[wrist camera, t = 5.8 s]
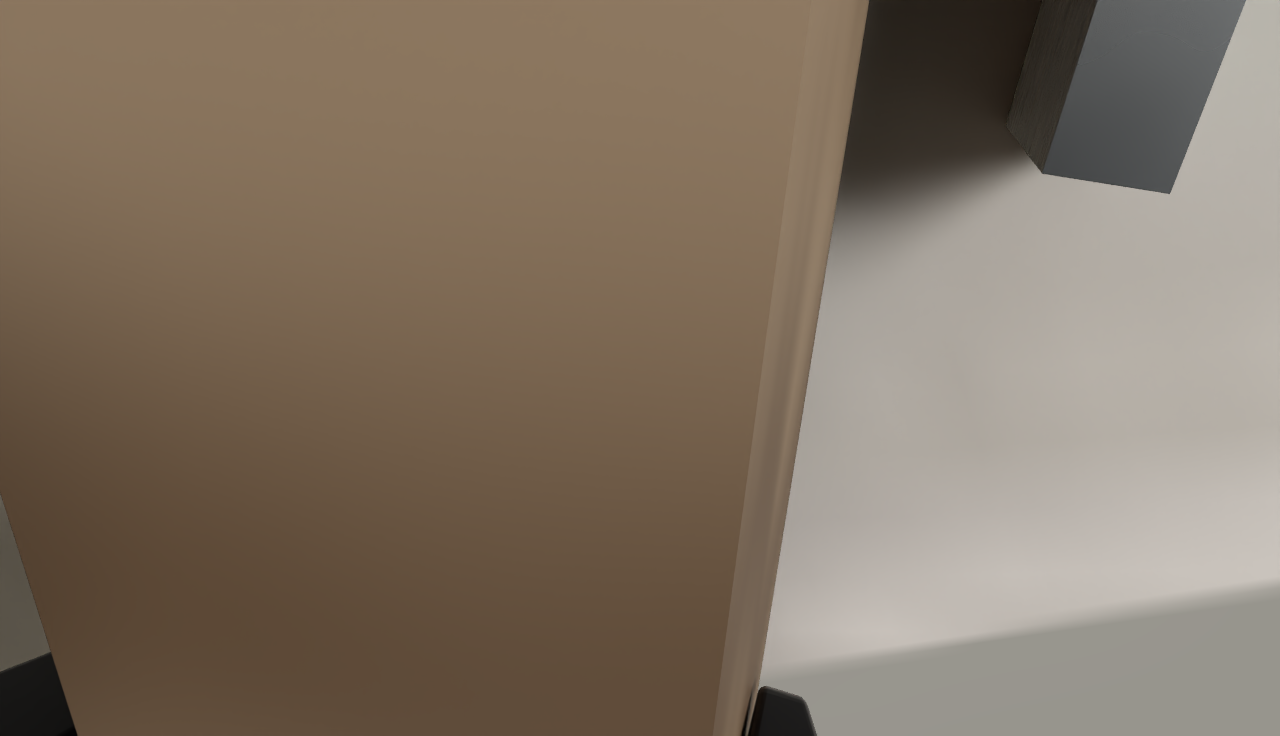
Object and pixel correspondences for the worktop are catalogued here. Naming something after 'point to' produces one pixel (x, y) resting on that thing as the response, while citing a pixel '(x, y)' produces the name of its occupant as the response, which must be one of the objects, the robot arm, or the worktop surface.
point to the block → (411, 354)
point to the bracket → (1119, 86)
